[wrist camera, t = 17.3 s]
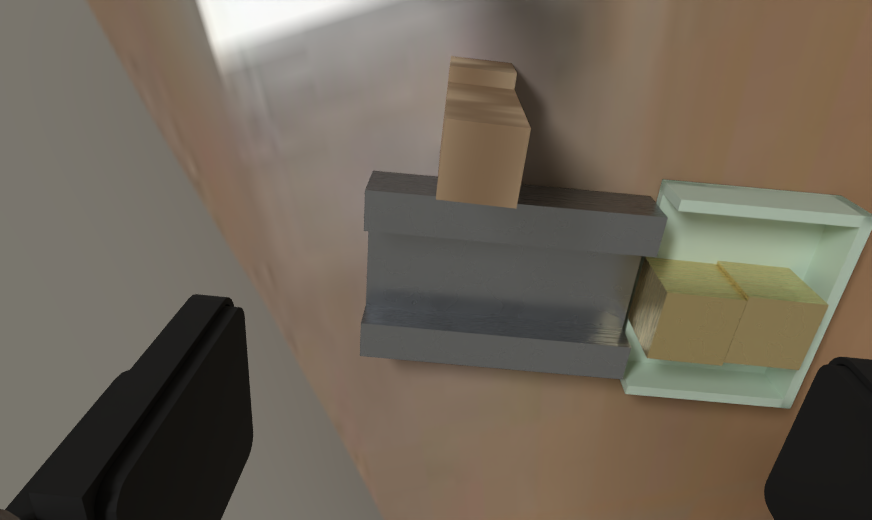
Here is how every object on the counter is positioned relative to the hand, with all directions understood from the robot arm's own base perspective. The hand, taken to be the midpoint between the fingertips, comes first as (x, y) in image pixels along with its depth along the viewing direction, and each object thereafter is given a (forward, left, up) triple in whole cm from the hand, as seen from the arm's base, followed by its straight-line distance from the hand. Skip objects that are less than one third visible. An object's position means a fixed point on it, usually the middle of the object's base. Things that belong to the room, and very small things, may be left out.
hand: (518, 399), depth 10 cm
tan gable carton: (0, 0, -23) cm, 23 cm away
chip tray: (-15, +9, -23) cm, 29 cm away
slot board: (-2, +9, -23) cm, 25 cm away
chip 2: (-16, +9, -22) cm, 29 cm away
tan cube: (-12, +9, -22) cm, 27 cm away
